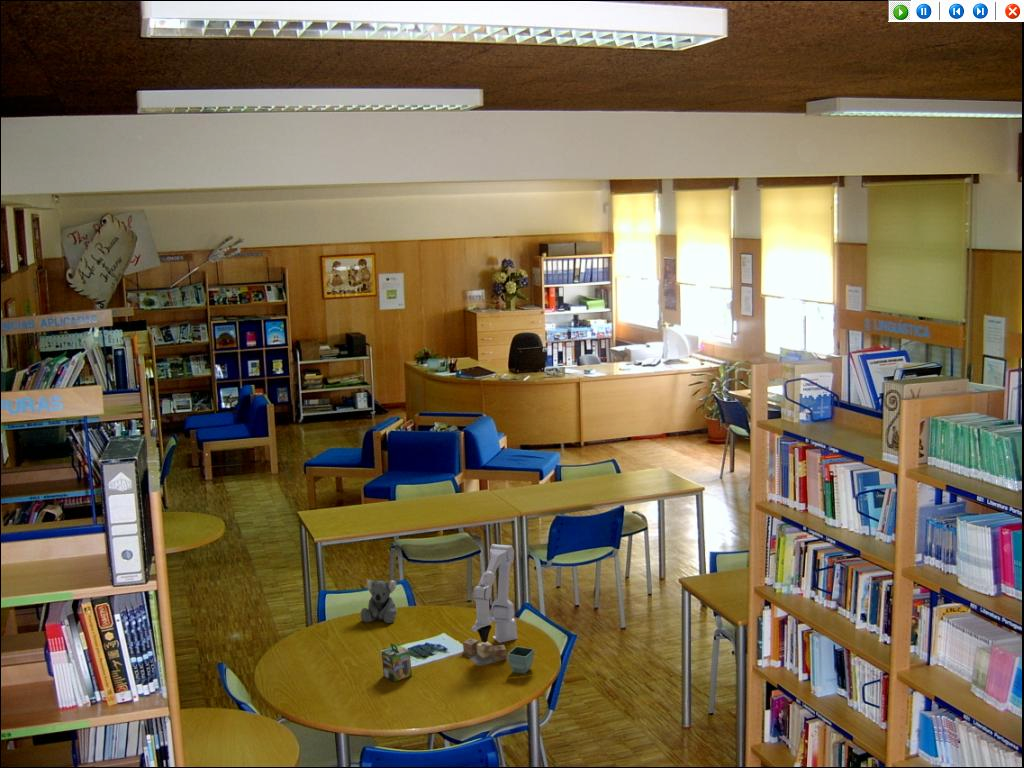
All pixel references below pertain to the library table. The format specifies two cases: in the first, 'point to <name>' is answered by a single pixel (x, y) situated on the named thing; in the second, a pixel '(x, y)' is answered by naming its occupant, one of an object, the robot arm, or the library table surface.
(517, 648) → the flower pot
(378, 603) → the koala plush
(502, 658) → the pip block one
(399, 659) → the green printed carry box
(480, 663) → the felt mat
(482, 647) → the plain block
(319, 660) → the library table surface
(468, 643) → the pip block two
